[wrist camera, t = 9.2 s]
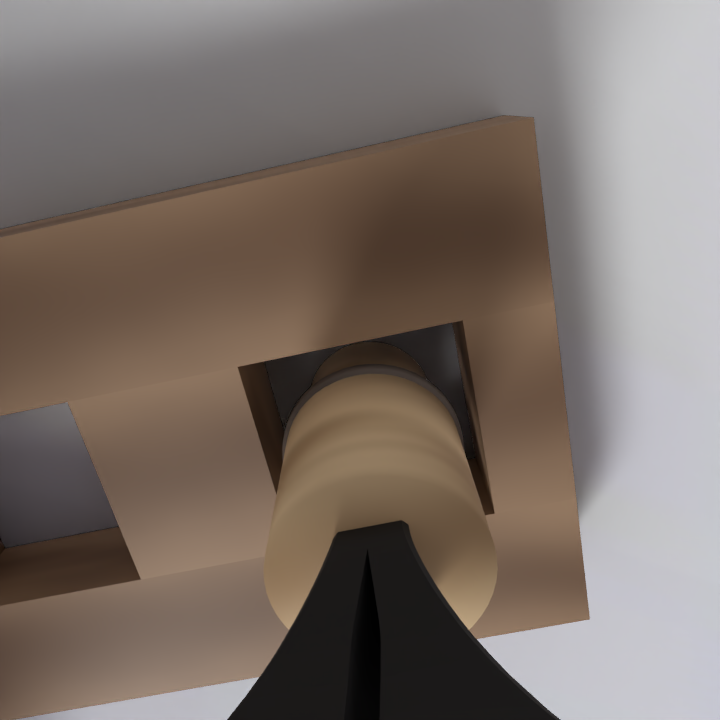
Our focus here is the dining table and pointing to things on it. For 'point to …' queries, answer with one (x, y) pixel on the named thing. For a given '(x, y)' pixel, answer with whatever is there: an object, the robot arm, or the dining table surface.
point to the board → (269, 395)
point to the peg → (377, 479)
